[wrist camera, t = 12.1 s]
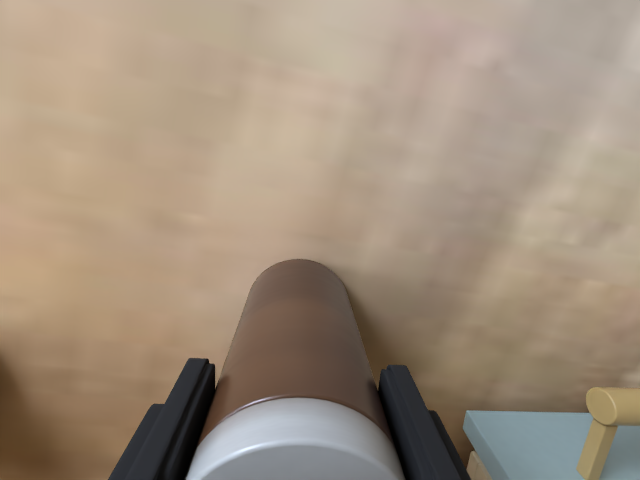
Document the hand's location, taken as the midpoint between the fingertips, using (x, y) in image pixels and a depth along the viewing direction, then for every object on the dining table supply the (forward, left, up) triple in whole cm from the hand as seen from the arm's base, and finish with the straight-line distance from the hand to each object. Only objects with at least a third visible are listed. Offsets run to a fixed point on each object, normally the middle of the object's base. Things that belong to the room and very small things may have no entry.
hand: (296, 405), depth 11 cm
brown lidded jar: (0, 0, -7) cm, 7 cm away
